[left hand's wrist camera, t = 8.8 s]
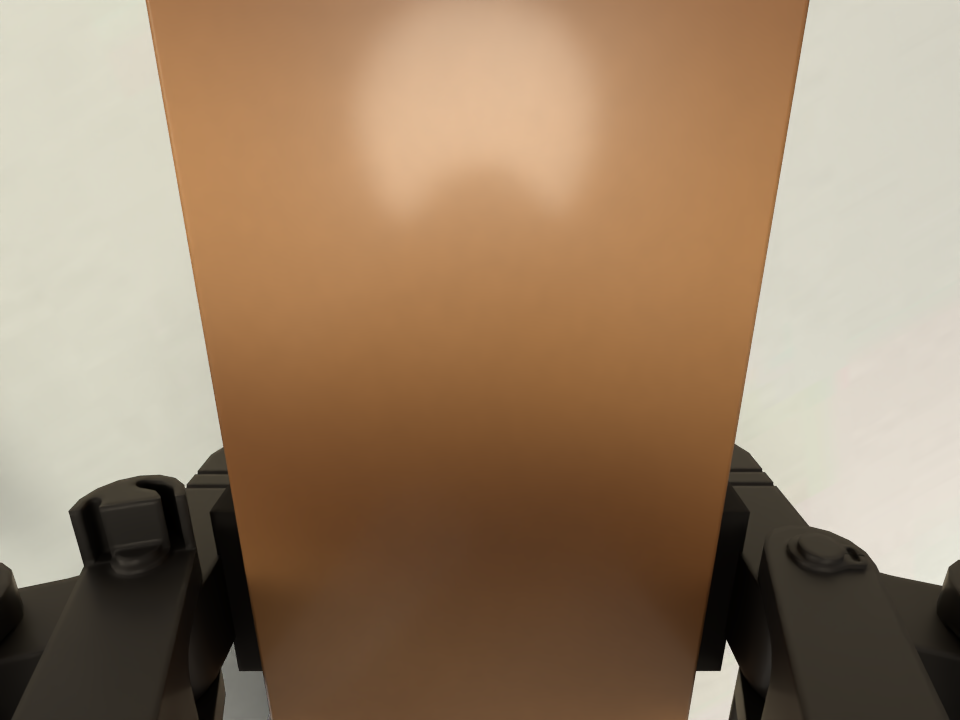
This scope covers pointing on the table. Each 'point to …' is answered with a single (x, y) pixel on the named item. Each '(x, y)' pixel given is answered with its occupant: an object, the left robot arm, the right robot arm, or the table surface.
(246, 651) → the left robot arm
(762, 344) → the table surface
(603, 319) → the bar
